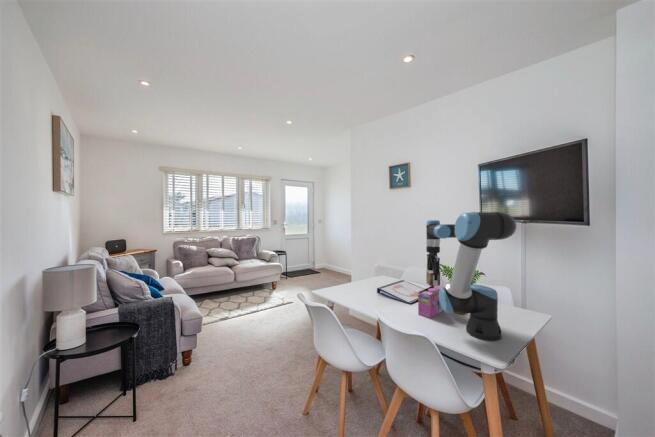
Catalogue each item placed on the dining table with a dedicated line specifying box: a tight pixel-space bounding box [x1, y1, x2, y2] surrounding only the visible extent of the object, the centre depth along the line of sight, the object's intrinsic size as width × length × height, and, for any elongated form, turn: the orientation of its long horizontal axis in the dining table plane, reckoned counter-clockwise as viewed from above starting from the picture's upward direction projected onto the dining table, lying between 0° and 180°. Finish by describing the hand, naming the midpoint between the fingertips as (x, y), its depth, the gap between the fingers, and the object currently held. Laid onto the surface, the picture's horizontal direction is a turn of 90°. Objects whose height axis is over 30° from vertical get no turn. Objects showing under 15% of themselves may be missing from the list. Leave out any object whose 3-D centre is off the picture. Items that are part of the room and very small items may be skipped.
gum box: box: [417, 285, 446, 319], centre depth 162 cm, size 24×8×14 cm, turn 134°
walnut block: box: [425, 269, 441, 287], centre depth 162 cm, size 6×6×8 cm
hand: (433, 283), depth 162 cm, fingers closed on walnut block, 6 cm apart
